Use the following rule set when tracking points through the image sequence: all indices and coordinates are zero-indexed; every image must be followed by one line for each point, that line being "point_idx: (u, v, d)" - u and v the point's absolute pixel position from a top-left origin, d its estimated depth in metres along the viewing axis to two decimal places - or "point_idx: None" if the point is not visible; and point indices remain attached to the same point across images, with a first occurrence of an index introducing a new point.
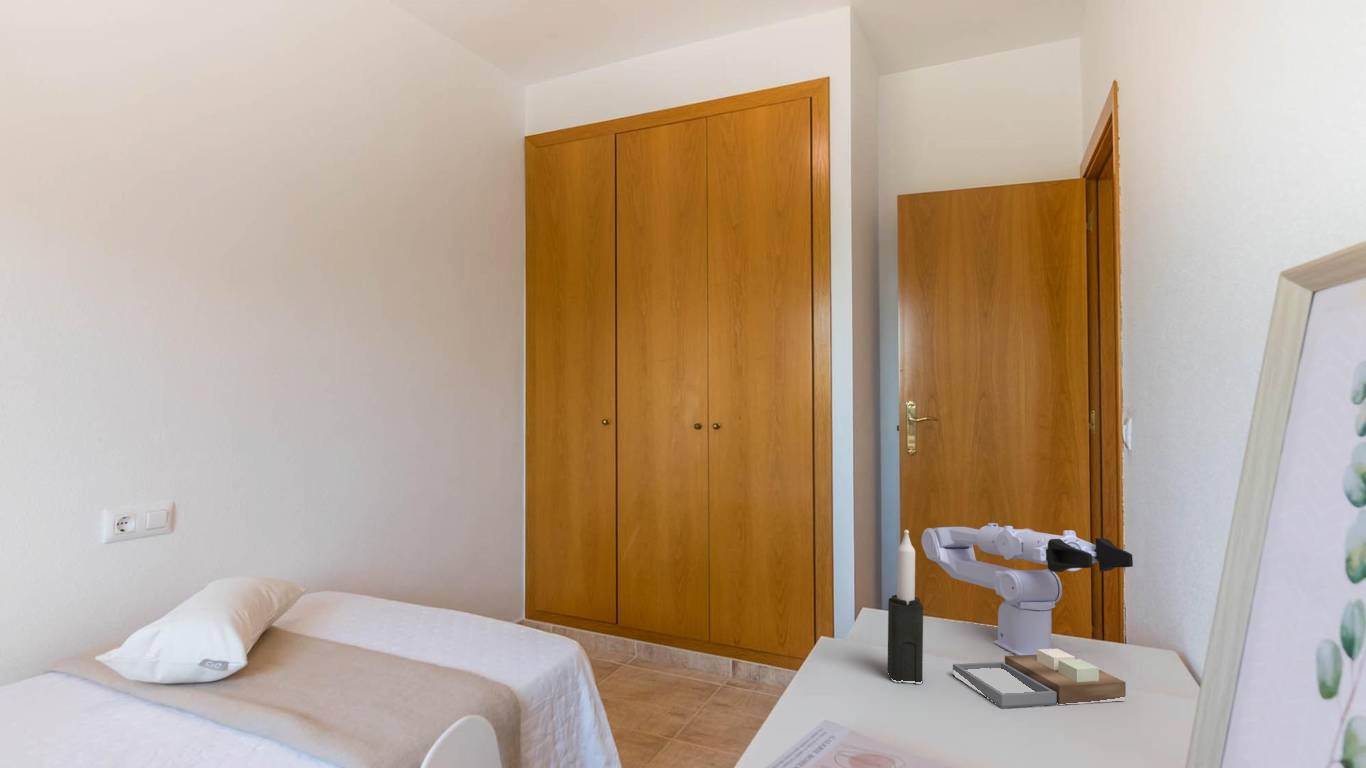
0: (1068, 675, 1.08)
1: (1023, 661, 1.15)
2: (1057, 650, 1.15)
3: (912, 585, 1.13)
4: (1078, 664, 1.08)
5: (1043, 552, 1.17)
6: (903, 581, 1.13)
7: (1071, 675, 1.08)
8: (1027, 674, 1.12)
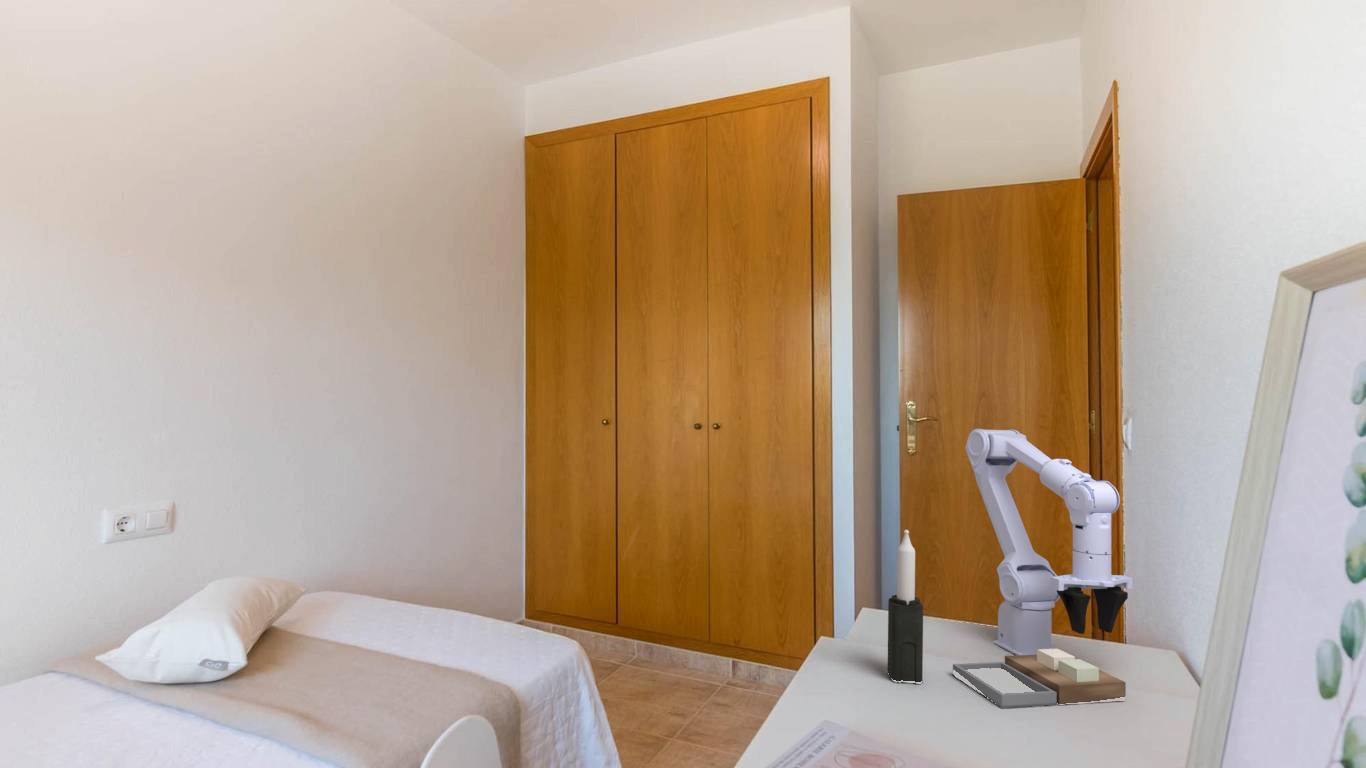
0: (1068, 675, 1.08)
1: (1023, 661, 1.15)
2: (1057, 650, 1.15)
3: (912, 585, 1.13)
4: (1078, 664, 1.08)
5: None
6: (903, 581, 1.13)
7: (1071, 675, 1.08)
8: (1027, 674, 1.12)
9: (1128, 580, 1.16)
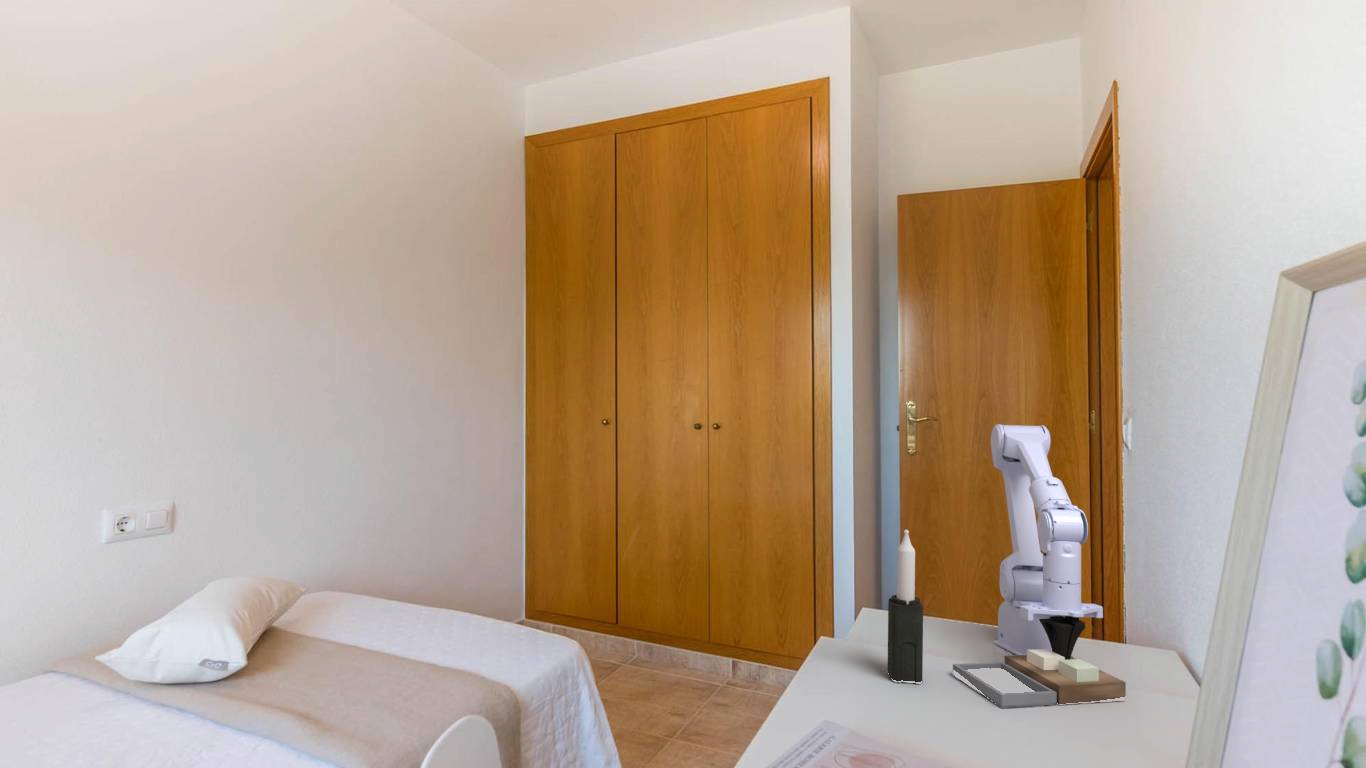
0: (1068, 675, 1.08)
1: (1023, 661, 1.15)
2: (1047, 650, 1.15)
3: (912, 585, 1.13)
4: (1078, 664, 1.08)
5: None
6: (903, 581, 1.13)
7: (1071, 675, 1.08)
8: (1027, 674, 1.12)
9: (1098, 609, 1.14)
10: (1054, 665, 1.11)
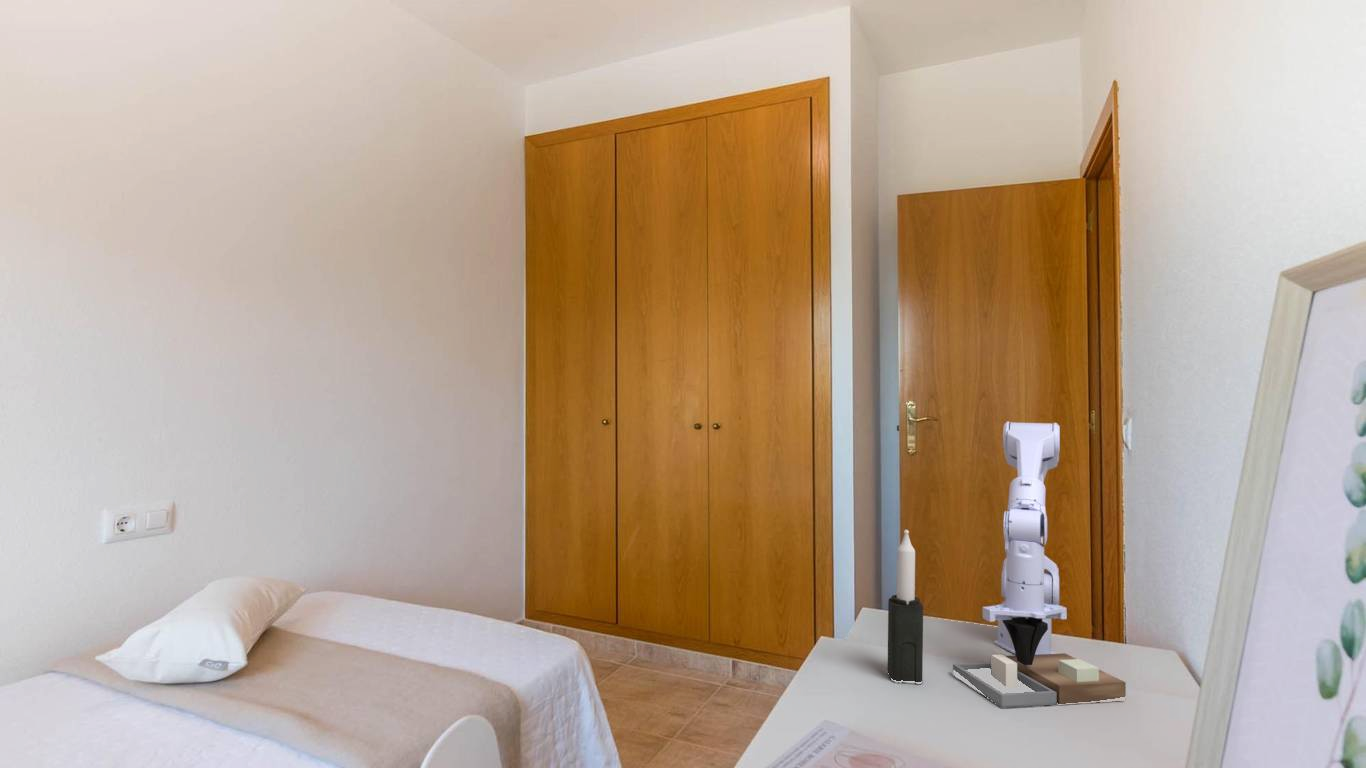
0: (1068, 675, 1.08)
1: None
2: (994, 661, 1.13)
3: (912, 585, 1.13)
4: (1078, 664, 1.08)
5: None
6: (903, 581, 1.13)
7: (1071, 675, 1.08)
8: (1027, 674, 1.12)
9: (1062, 610, 1.13)
10: (1012, 675, 1.10)
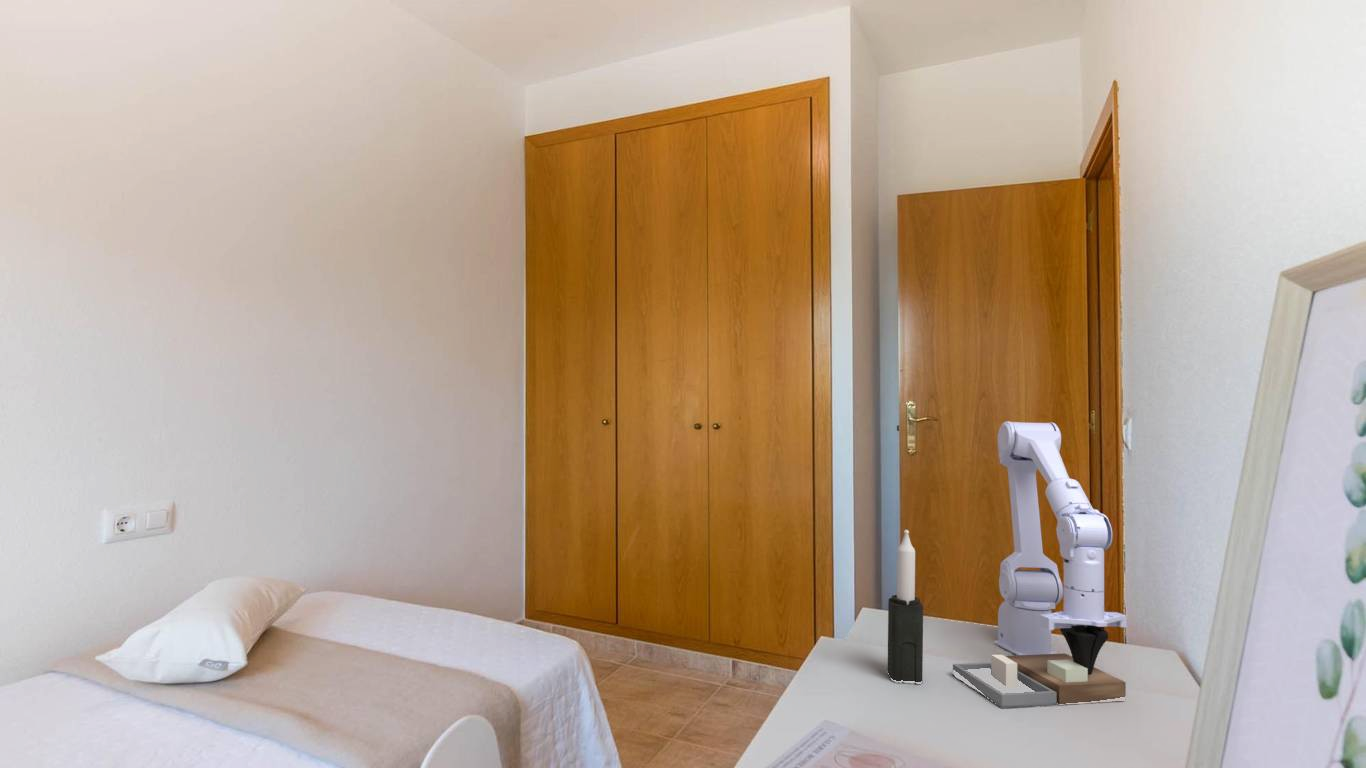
0: (1057, 675, 1.08)
1: (1023, 661, 1.15)
2: (994, 660, 1.13)
3: (912, 585, 1.13)
4: (1066, 665, 1.08)
5: None
6: (903, 581, 1.13)
7: (1060, 675, 1.07)
8: (1027, 674, 1.12)
9: (1122, 618, 1.10)
10: (1012, 675, 1.10)
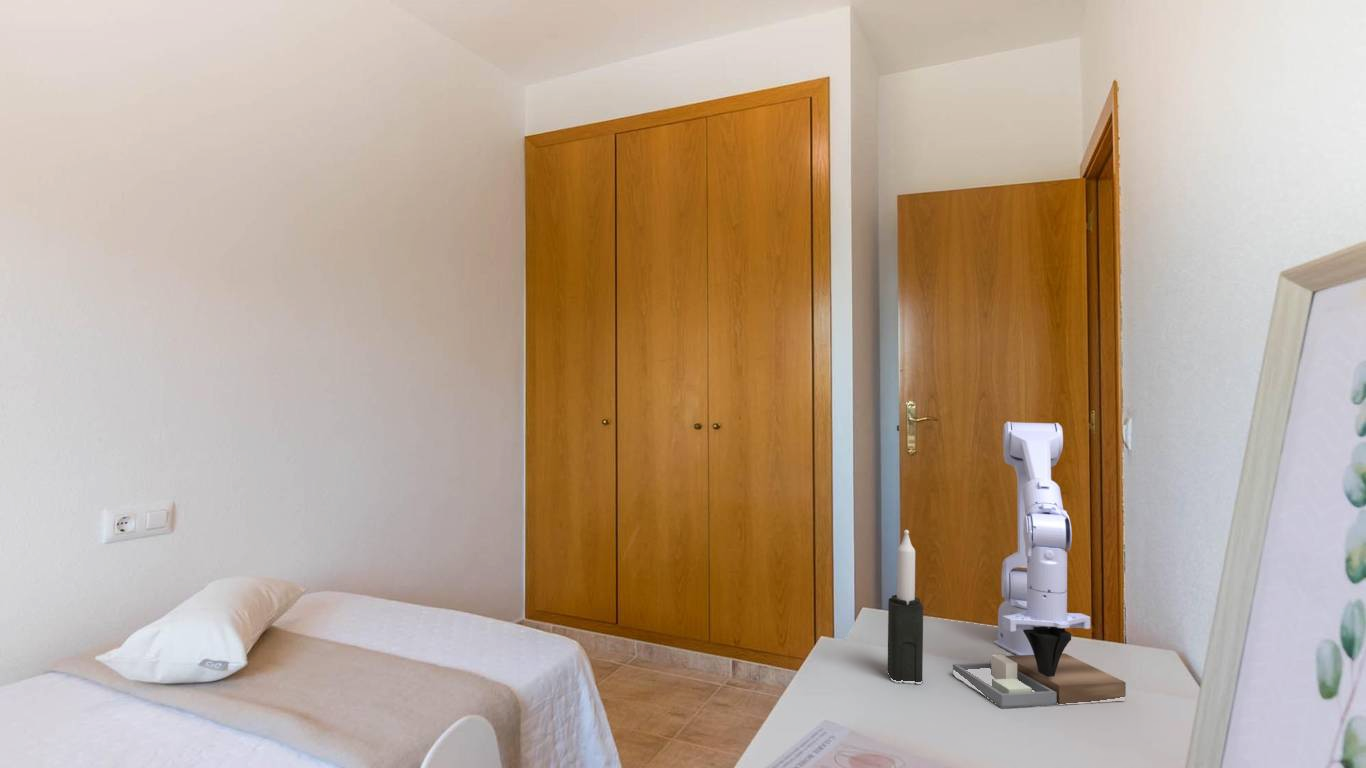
0: None
1: (1023, 661, 1.15)
2: (994, 660, 1.13)
3: (912, 585, 1.13)
4: None
5: None
6: (903, 581, 1.13)
7: None
8: (1027, 674, 1.12)
9: (1085, 619, 1.08)
10: (1012, 675, 1.10)
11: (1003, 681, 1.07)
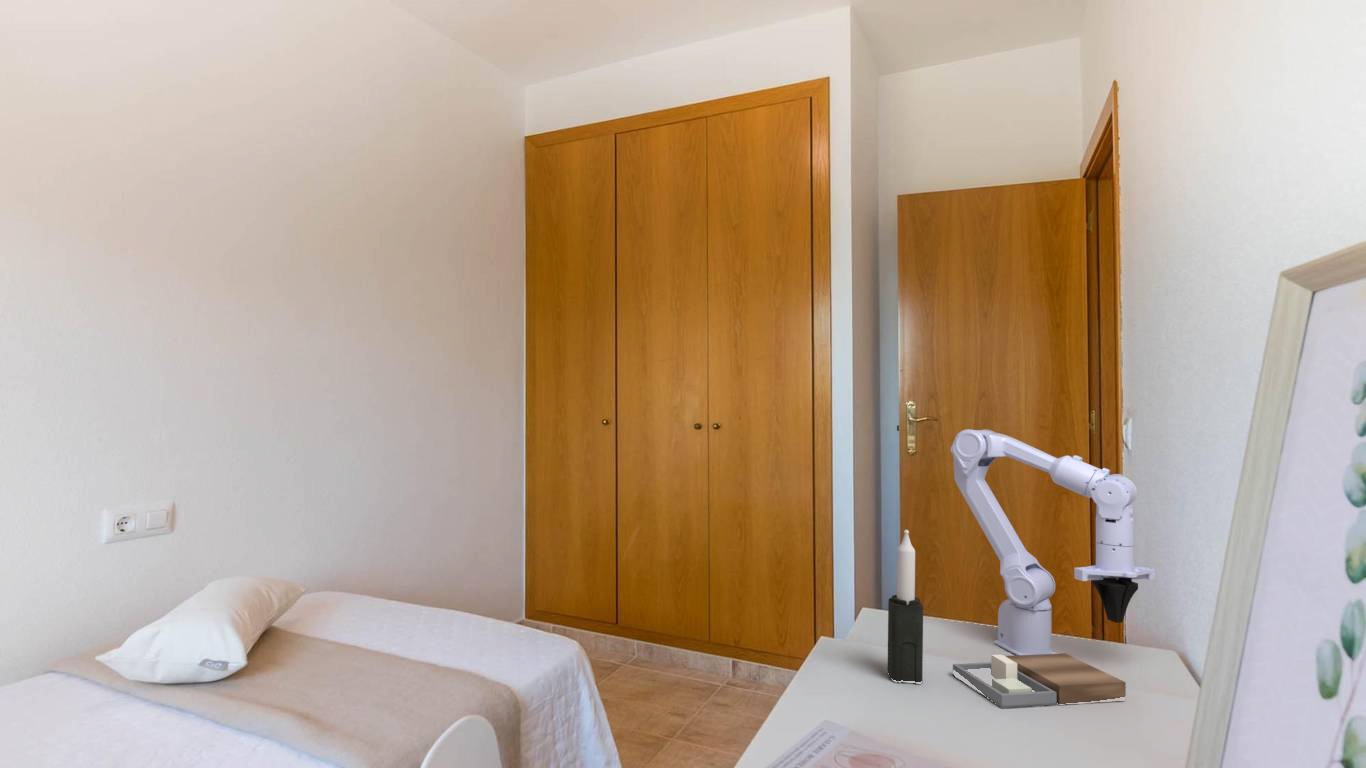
0: None
1: (1023, 661, 1.15)
2: (994, 660, 1.13)
3: (912, 585, 1.13)
4: None
5: None
6: (903, 581, 1.13)
7: None
8: (1027, 674, 1.12)
9: (1150, 571, 1.19)
10: (1012, 675, 1.10)
11: (1003, 681, 1.07)
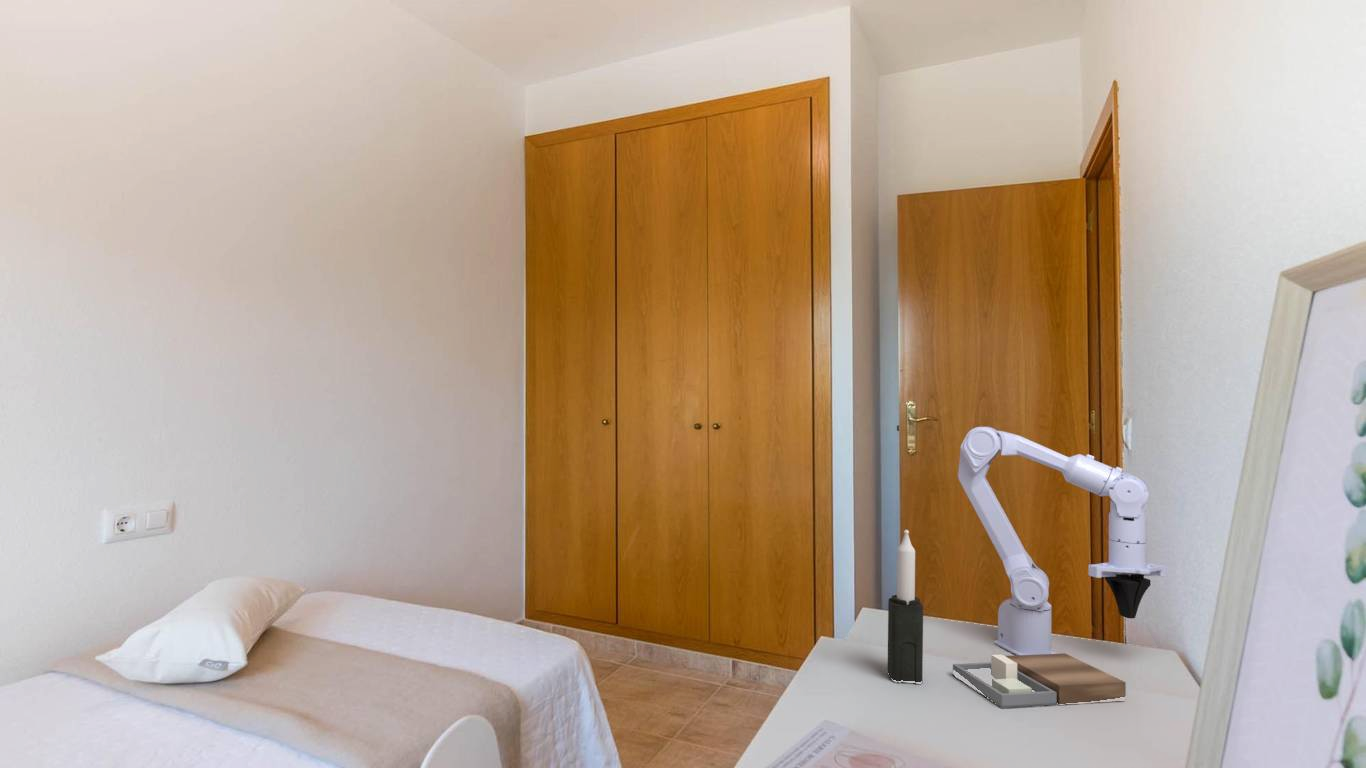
0: None
1: (1023, 661, 1.15)
2: (994, 660, 1.13)
3: (912, 585, 1.13)
4: None
5: None
6: (903, 581, 1.13)
7: None
8: (1027, 674, 1.12)
9: (1162, 568, 1.22)
10: (1012, 675, 1.10)
11: (1003, 681, 1.07)
